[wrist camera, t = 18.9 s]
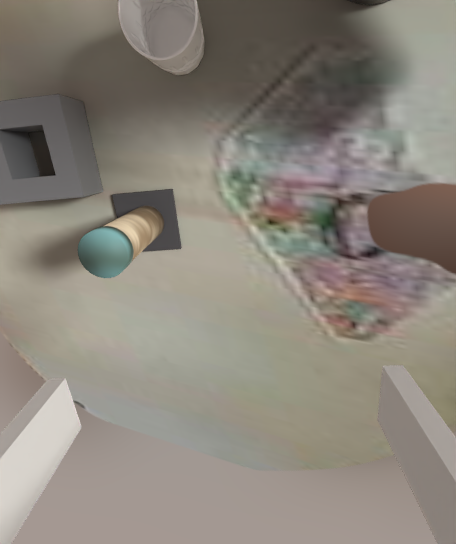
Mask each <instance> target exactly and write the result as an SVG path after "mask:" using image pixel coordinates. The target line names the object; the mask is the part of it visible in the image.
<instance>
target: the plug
mask: <svg viewBox="0 0 456 544" xmlns="http://www.w3.org/2000/svg"><path fill="white" fill-rule="evenodd" d="M163 228H164V219H163V216H162V215H161V213H160V212H159V211H158V210H157V209H156V208H154V207H151V206H141V207H139V208H137V209H135V210H133V211H131V212H129V213H127V214H125V215H124V216H122V217H120V218H118V219H116V220H114V221H112V222H110V223H108V224H106V225H104V226H102V227H99V228H97V229H95V230H93V231H91V232H89V233H87V234H86V235H84V236H83V237H82V239H81V240H80V242H79V245H78V256H79V259H80V261H81V263H82V265H83V266H84V267H85V269H86V270H87V271H89V272H90V273H92V274H93V275H95V276H98V277H101V278H111V277H115V276H117V275H119V274H120V273H121V272H122V271H123V270H124V269H125V268H126V267H127V266H128V265H129V264H130V263H131V261H132V260H133V259H134V258H135V257H137V256H138V255H139V254H140V253H141V252H142V251H143V250H144V249H145V248H146V247H147V246H148V245H149V244H150V243H151V242H152V241H153V240H154V239H155V238H157V237H158V236H159V235H160V234H161V232H162V231H163Z"/></svg>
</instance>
